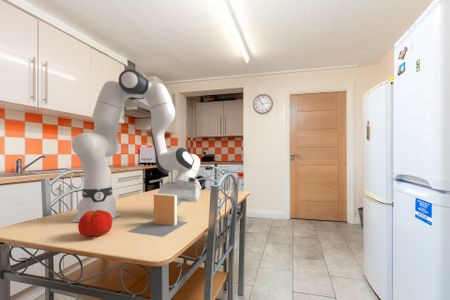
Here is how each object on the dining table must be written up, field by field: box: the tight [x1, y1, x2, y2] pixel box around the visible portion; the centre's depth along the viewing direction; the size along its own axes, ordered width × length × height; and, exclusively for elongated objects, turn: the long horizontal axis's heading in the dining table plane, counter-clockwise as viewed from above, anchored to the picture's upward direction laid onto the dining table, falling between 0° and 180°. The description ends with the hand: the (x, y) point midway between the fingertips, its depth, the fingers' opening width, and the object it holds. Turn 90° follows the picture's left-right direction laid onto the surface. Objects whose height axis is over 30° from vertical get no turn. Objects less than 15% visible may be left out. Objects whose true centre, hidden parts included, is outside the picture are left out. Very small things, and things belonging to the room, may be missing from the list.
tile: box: [153, 193, 178, 226], centre depth 95 cm, size 2×10×12 cm, turn 70°
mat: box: [126, 219, 189, 238], centre depth 92 cm, size 18×16×1 cm
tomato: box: [77, 210, 113, 238], centre depth 84 cm, size 11×11×9 cm
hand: (171, 208), depth 100 cm, fingers closed
